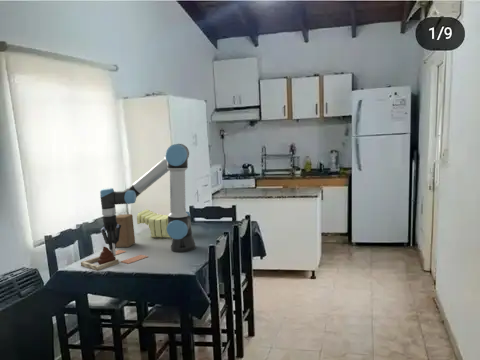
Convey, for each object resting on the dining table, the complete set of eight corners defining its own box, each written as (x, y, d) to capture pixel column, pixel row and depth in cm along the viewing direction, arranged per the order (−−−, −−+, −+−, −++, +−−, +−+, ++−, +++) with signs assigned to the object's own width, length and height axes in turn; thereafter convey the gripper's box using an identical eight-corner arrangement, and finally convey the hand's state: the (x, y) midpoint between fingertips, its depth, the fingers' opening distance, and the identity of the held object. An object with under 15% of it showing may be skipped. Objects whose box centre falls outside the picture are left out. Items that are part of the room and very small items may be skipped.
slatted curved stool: (138, 238, 288) (136, 213, 286) (149, 232, 304) (147, 209, 302) (178, 238, 281) (176, 212, 279) (187, 232, 296) (185, 208, 294)
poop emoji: (100, 265, 232) (98, 249, 231) (96, 262, 239) (94, 246, 238) (118, 261, 238) (116, 245, 237) (113, 258, 245) (111, 243, 244)
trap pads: (148, 256, 243) (148, 256, 243) (128, 263, 233) (128, 263, 232) (119, 250, 262) (119, 249, 262) (99, 256, 251) (99, 255, 251)
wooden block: (128, 247, 267) (125, 217, 264) (114, 247, 269) (111, 217, 266) (135, 243, 277) (132, 213, 274) (122, 243, 279) (119, 214, 276)
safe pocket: (118, 263, 235) (118, 259, 235) (97, 270, 225) (97, 266, 224) (102, 258, 246) (101, 255, 246) (81, 265, 235) (80, 262, 235)
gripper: (115, 212, 246) (119, 250, 249) (95, 216, 237) (100, 256, 240) (122, 213, 242) (126, 252, 245) (102, 218, 232) (107, 258, 235)
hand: (113, 254), depth 242 cm, fingers closed
